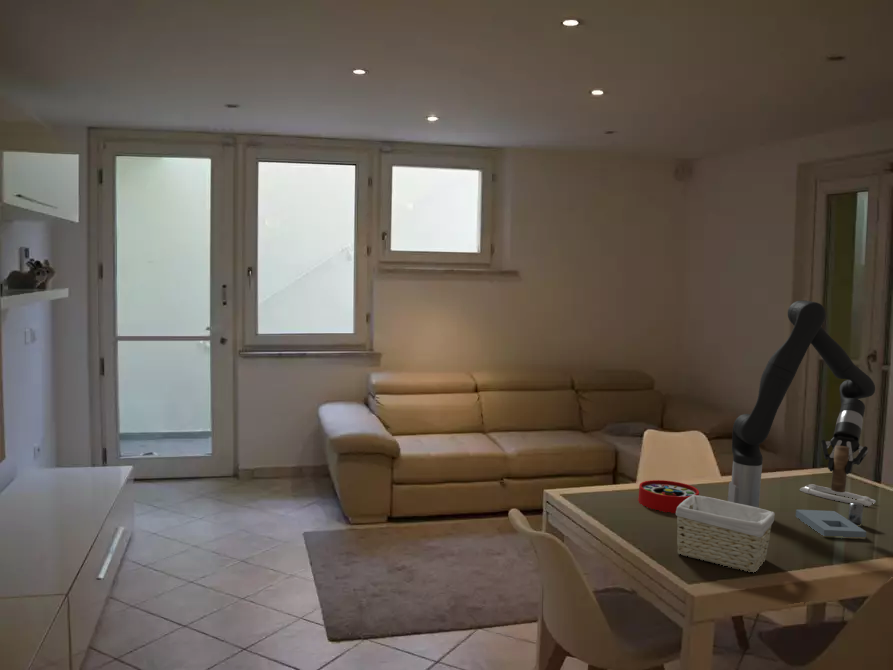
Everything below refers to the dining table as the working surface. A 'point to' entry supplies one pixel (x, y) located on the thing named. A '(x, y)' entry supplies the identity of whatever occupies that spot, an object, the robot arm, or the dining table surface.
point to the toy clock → (664, 494)
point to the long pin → (839, 468)
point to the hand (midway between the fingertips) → (839, 471)
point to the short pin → (855, 513)
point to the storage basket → (723, 532)
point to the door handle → (815, 490)
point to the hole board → (830, 523)
